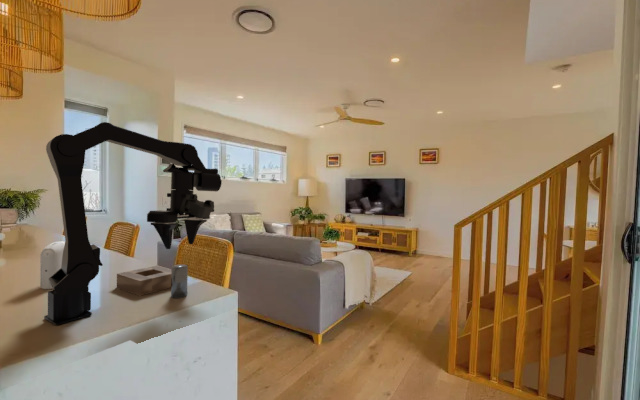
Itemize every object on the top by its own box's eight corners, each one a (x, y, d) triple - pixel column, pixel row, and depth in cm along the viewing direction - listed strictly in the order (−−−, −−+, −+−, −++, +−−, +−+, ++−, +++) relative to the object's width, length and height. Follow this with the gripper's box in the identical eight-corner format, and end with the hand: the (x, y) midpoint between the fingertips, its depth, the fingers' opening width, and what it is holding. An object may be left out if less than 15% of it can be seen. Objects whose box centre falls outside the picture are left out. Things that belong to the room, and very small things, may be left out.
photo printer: (56, 288, 84) (56, 244, 84) (37, 290, 83) (37, 245, 83) (74, 278, 94) (74, 239, 94) (57, 279, 93) (57, 239, 93)
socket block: (140, 295, 81) (140, 281, 81) (116, 287, 87) (116, 273, 87) (180, 284, 91) (180, 271, 91) (157, 277, 97) (157, 265, 97)
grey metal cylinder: (177, 299, 79) (177, 269, 79) (167, 296, 81) (168, 266, 81) (190, 295, 83) (190, 266, 83) (181, 292, 85) (181, 263, 85)
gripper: (185, 190, 73) (182, 254, 73) (226, 192, 91) (224, 243, 91) (146, 188, 75) (144, 251, 76) (194, 190, 94) (192, 241, 94)
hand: (180, 246), depth 84 cm, fingers open, 9 cm apart
